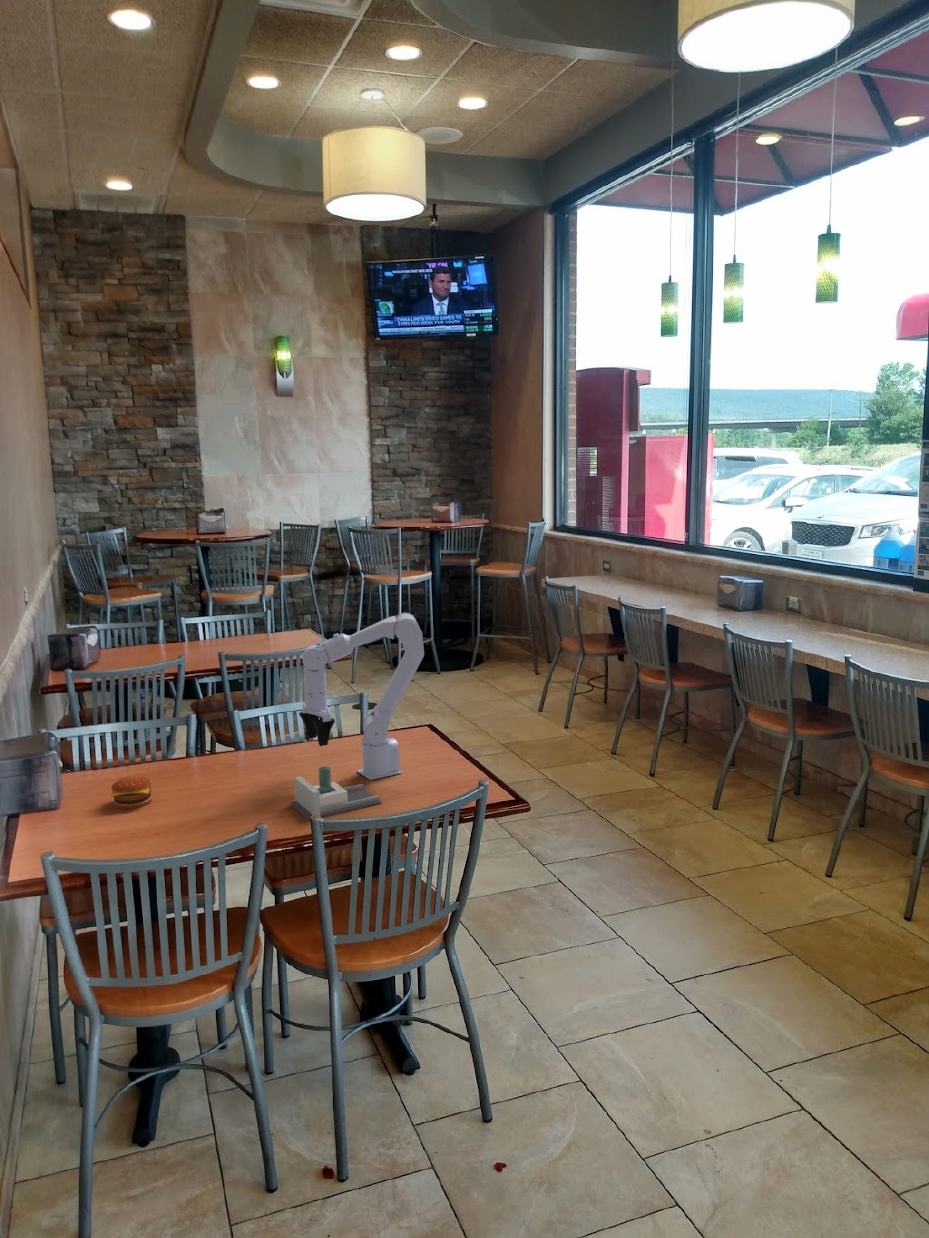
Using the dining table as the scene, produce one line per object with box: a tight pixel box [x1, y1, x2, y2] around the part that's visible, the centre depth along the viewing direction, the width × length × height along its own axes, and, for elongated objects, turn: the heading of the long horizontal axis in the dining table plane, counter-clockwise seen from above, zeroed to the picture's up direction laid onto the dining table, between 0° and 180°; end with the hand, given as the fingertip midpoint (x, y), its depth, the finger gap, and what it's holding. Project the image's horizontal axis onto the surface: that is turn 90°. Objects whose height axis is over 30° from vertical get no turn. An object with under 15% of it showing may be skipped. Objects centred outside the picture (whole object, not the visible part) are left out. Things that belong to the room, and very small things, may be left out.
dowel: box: [318, 765, 332, 794], centre depth 223 cm, size 3×3×8 cm
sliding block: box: [312, 781, 348, 808], centre depth 224 cm, size 8×8×4 cm
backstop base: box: [289, 776, 382, 821], centre depth 225 cm, size 19×12×7 cm, turn 121°
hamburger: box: [110, 774, 153, 810], centre depth 228 cm, size 9×10×7 cm
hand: (317, 741), depth 242 cm, fingers open, 7 cm apart
